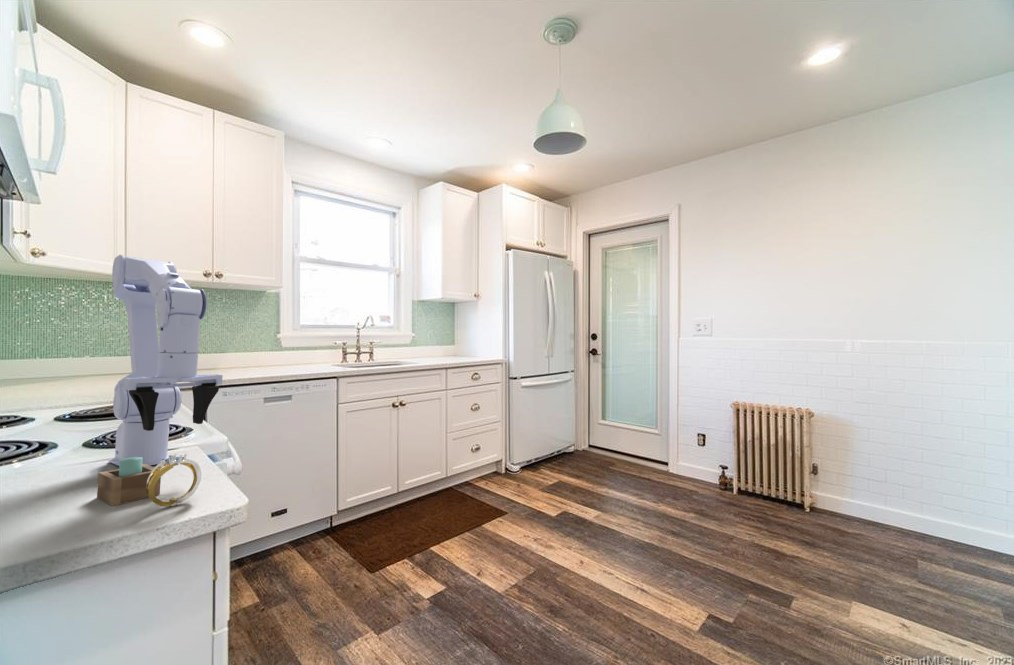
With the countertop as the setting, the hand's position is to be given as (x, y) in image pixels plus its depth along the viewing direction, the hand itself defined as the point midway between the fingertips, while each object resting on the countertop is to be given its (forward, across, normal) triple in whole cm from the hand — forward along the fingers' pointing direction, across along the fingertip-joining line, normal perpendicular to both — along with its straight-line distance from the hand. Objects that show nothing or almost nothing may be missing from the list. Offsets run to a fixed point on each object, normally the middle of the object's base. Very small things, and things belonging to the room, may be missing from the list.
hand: (174, 426), depth 75 cm
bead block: (+10, -7, -3) cm, 12 cm away
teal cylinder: (+10, -7, -3) cm, 12 cm away
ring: (+10, -5, -13) cm, 17 cm away
